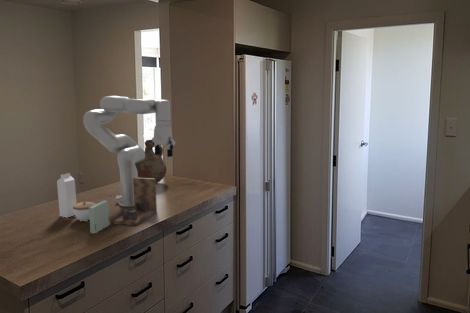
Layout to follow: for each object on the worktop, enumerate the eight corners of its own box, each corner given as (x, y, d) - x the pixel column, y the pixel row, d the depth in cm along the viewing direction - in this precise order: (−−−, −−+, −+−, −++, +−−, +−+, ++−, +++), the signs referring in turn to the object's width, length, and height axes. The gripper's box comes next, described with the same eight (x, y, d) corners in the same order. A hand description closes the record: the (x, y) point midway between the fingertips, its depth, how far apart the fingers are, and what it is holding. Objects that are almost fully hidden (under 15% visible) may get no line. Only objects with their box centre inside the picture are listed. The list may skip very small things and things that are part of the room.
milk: (59, 216, 206) (55, 174, 202) (69, 213, 211) (65, 172, 207) (68, 218, 203) (64, 175, 199) (77, 215, 209) (74, 173, 205)
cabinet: (113, 223, 195) (111, 187, 192) (136, 210, 216) (134, 177, 213) (136, 225, 192) (134, 188, 189) (156, 211, 213) (155, 178, 210)
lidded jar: (81, 224, 194) (79, 205, 192) (69, 220, 201) (68, 201, 199) (101, 219, 202) (99, 201, 200) (89, 214, 209) (88, 197, 207)
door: (90, 233, 183) (88, 207, 180) (105, 224, 194) (104, 200, 192) (95, 233, 182) (93, 207, 180) (110, 224, 193) (108, 200, 191)
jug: (135, 181, 282) (133, 138, 277) (166, 180, 286) (165, 137, 280) (133, 189, 261) (131, 143, 256) (167, 187, 265) (165, 142, 259)
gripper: (146, 122, 215) (147, 154, 218) (169, 125, 205) (169, 158, 208) (157, 121, 221) (158, 152, 224) (179, 124, 210) (180, 156, 213)
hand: (163, 155), depth 216 cm, fingers open, 9 cm apart
